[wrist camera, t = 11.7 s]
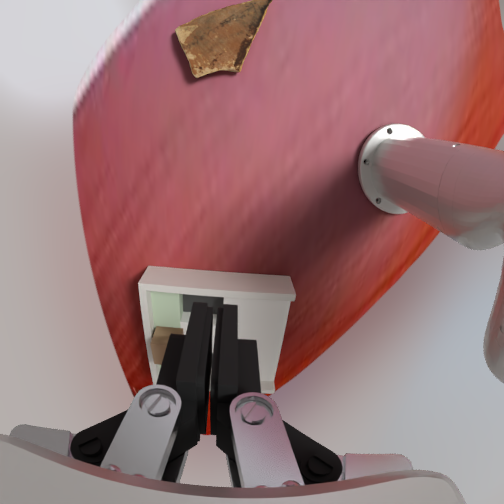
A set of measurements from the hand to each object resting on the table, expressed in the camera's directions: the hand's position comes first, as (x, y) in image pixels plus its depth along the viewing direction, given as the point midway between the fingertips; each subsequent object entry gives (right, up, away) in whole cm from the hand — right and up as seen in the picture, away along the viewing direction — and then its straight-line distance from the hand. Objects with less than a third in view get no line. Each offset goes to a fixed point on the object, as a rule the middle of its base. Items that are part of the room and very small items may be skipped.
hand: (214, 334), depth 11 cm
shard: (-3, +31, +17) cm, 35 cm away
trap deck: (-4, -8, +33) cm, 34 cm away
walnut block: (-11, -10, +30) cm, 33 cm away
